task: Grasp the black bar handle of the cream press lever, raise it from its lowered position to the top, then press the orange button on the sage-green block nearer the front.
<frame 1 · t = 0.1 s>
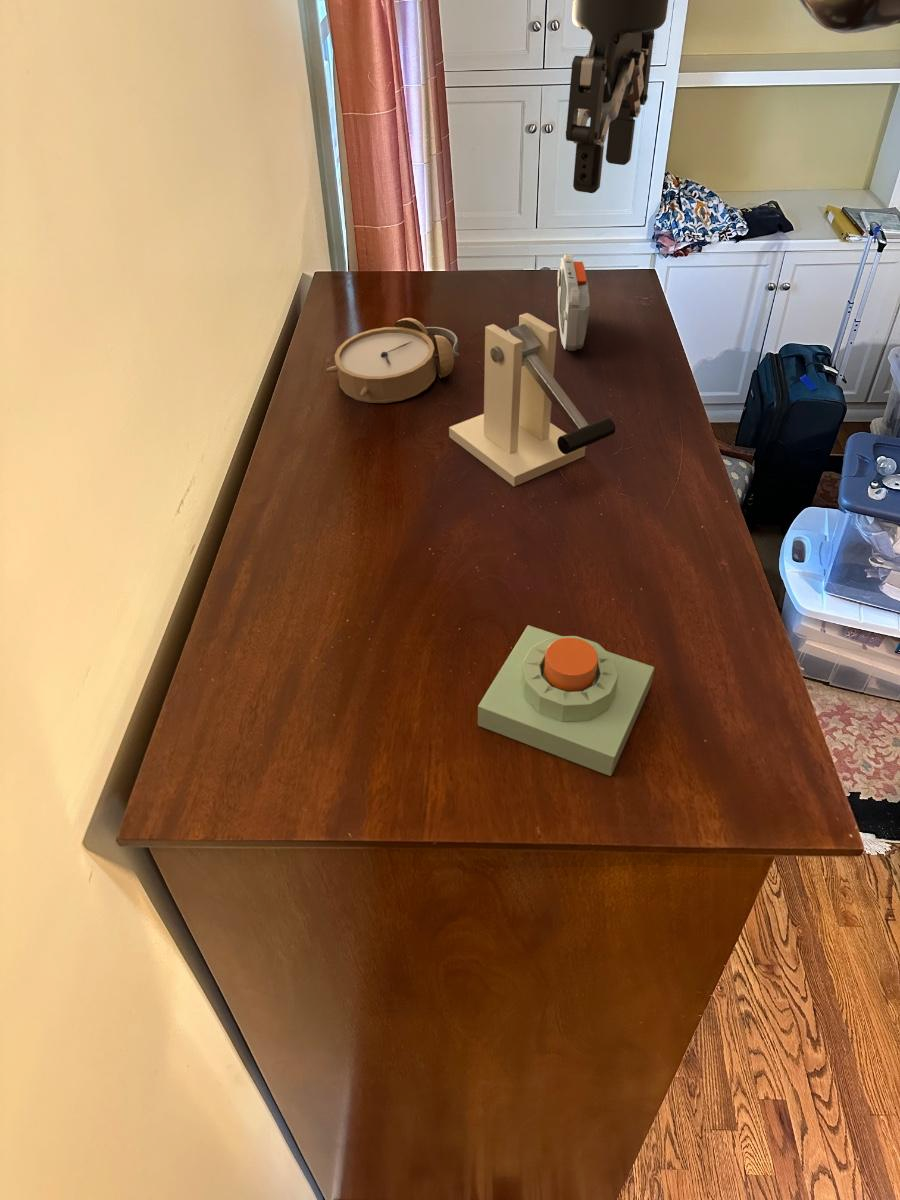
hand: (602, 176, 78), 23 cm above the dresser top, tool pointing down, fingers open, 8 cm apart
alarm clock: (400, 376, 99), on the dresser top
bracket: (515, 446, 88), on the dresser top
button: (570, 664, 60), point 4 cm above the dresser top, slide at 0.1 cm
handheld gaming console: (569, 335, 106), on the dresser top
lever: (551, 387, 79), point 9 cm above the dresser top, hinge at -25.0°
button block: (565, 706, 63), on the dresser top
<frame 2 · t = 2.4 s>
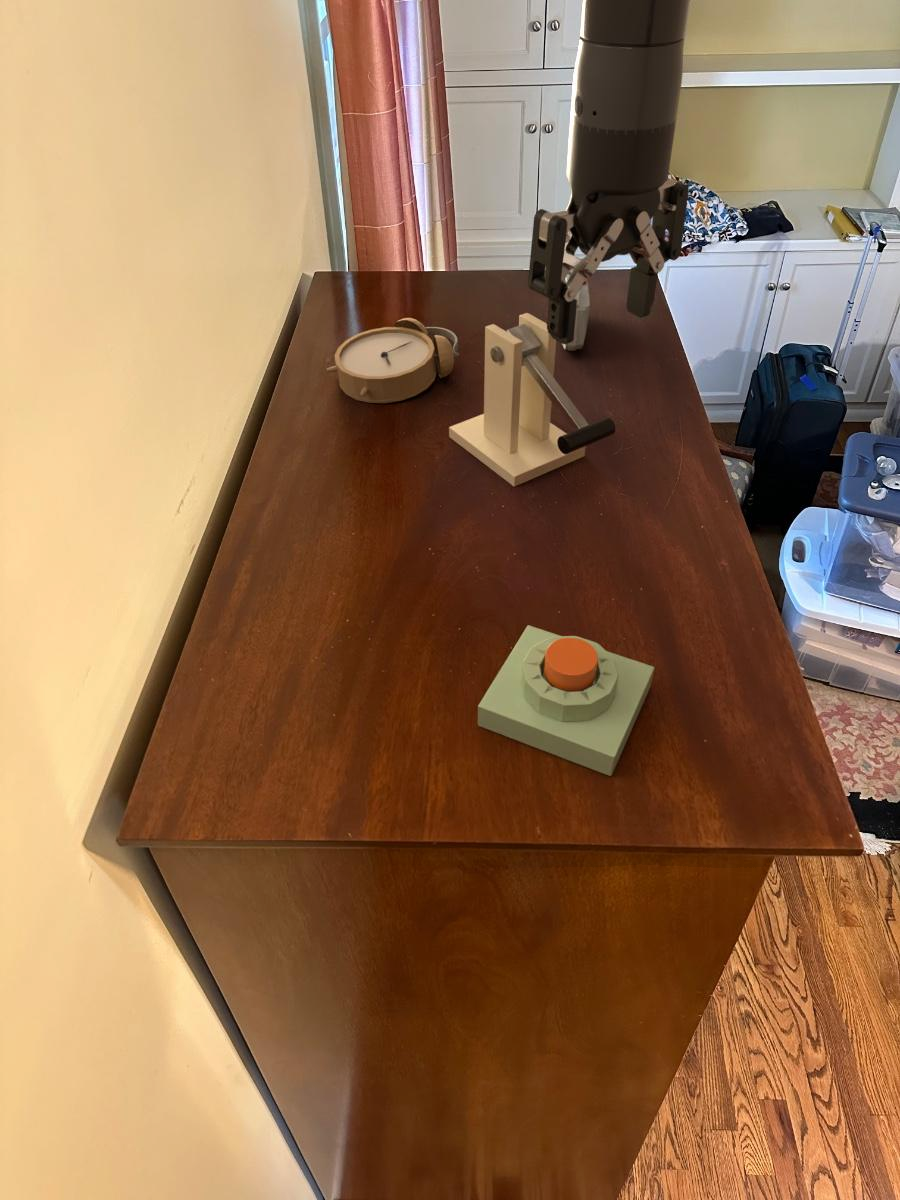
hand: (600, 326, 72), 16 cm above the dresser top, tool pointing down, fingers open, 8 cm apart
nothing on the dresser top moved.
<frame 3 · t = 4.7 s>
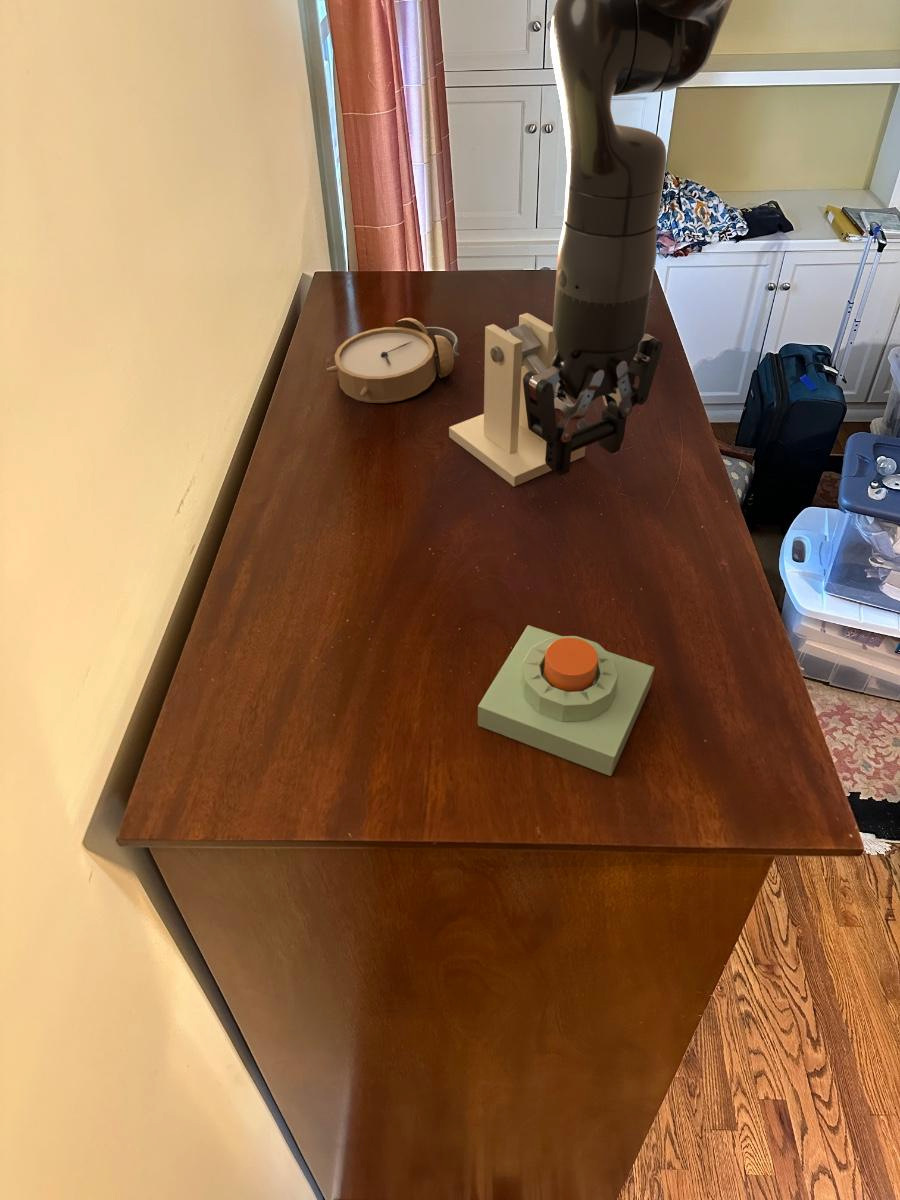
hand: (584, 458, 79), 4 cm above the dresser top, tool pointing down, fingers closed on lever, 5 cm apart
lever: (551, 387, 79), point 9 cm above the dresser top, hinge at -25.1°, touching gripper
everything else where it was.
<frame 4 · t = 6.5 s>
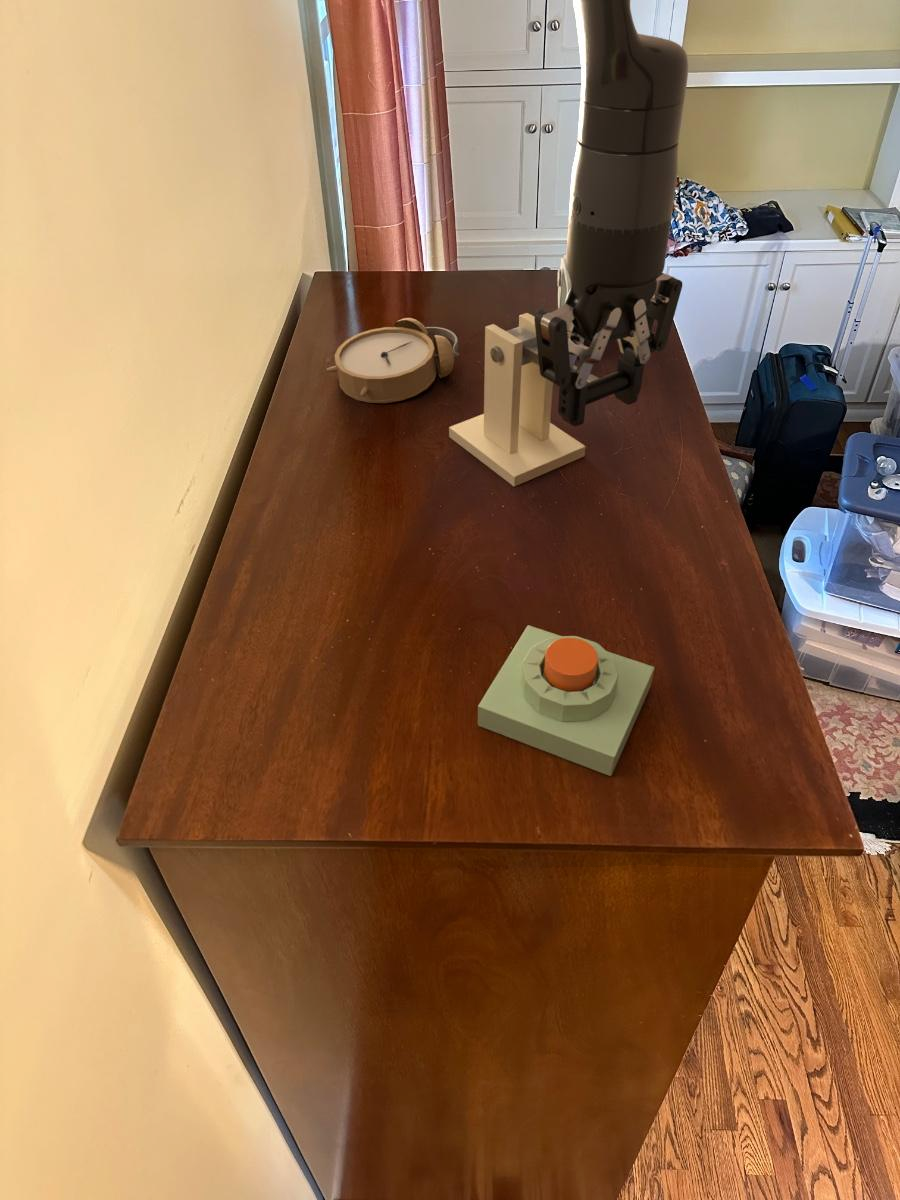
hand: (599, 410, 75), 10 cm above the dresser top, tool pointing down, fingers closed on lever, 5 cm apart
lever: (556, 365, 77), point 11 cm above the dresser top, hinge at 2.8°, touching gripper
everything else where it was.
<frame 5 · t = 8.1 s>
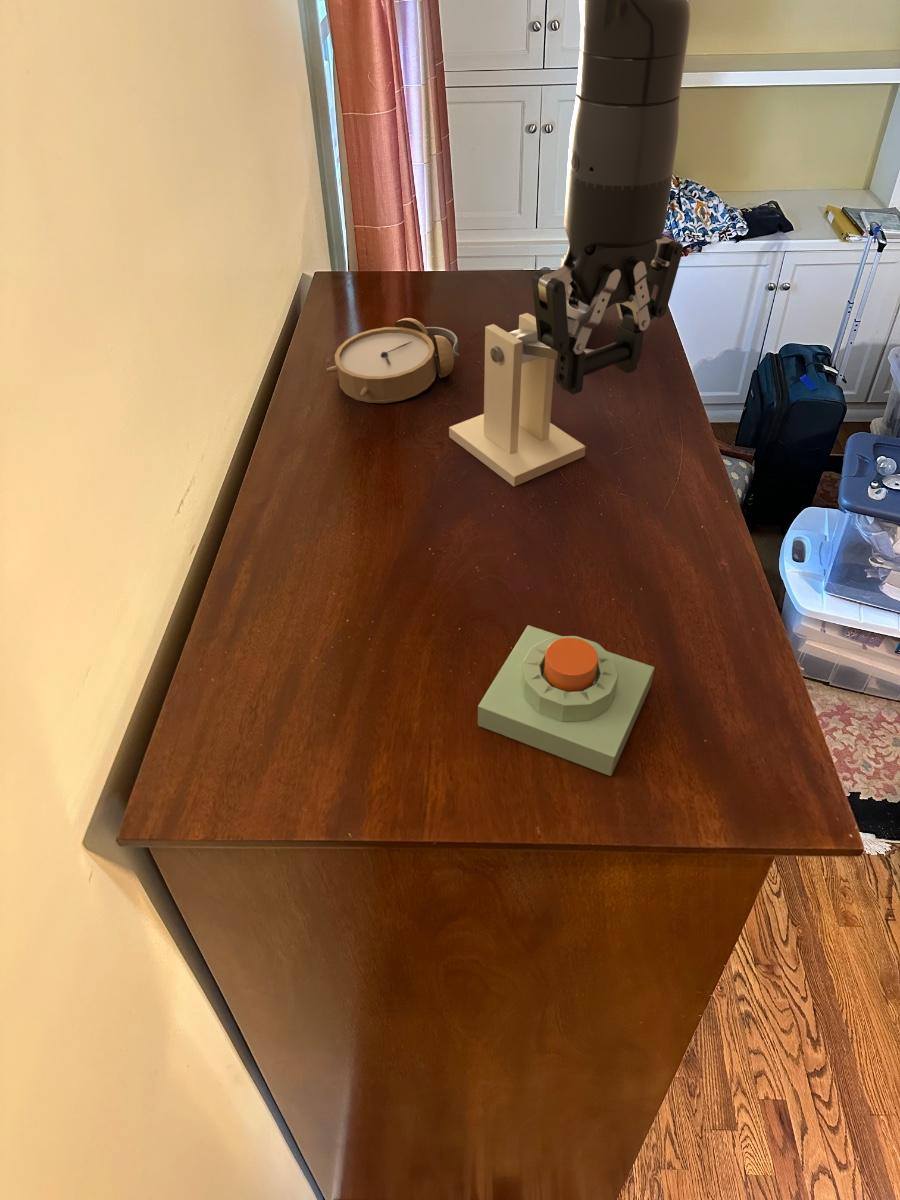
hand: (597, 378, 73), 12 cm above the dresser top, tool pointing down, fingers closed on lever, 5 cm apart
lever: (555, 351, 76), point 12 cm above the dresser top, hinge at 16.3°, touching gripper
everything else where it was.
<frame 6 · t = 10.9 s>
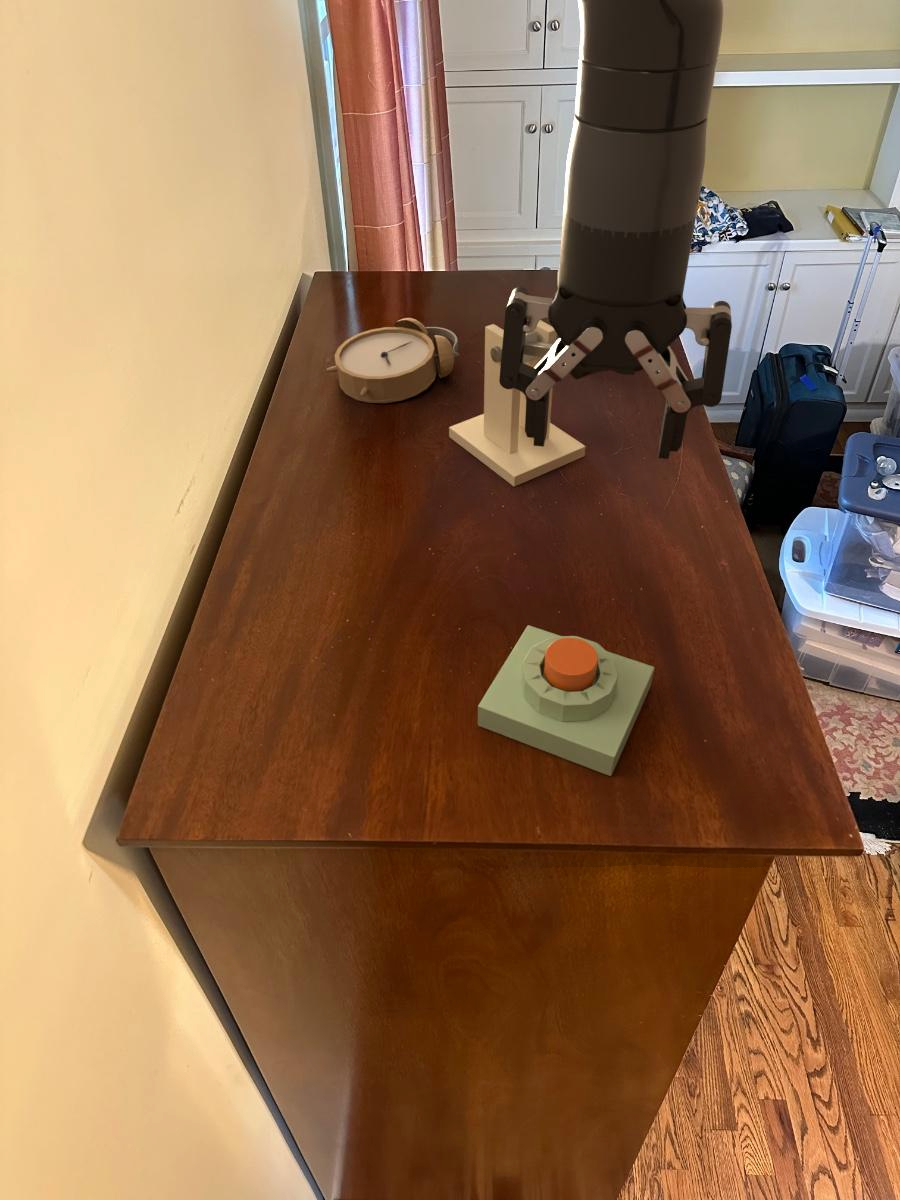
hand: (601, 446, 60), 15 cm above the dresser top, tool pointing down, fingers open, 8 cm apart
lever: (555, 352, 76), point 12 cm above the dresser top, hinge at 15.9°
everything else where it was.
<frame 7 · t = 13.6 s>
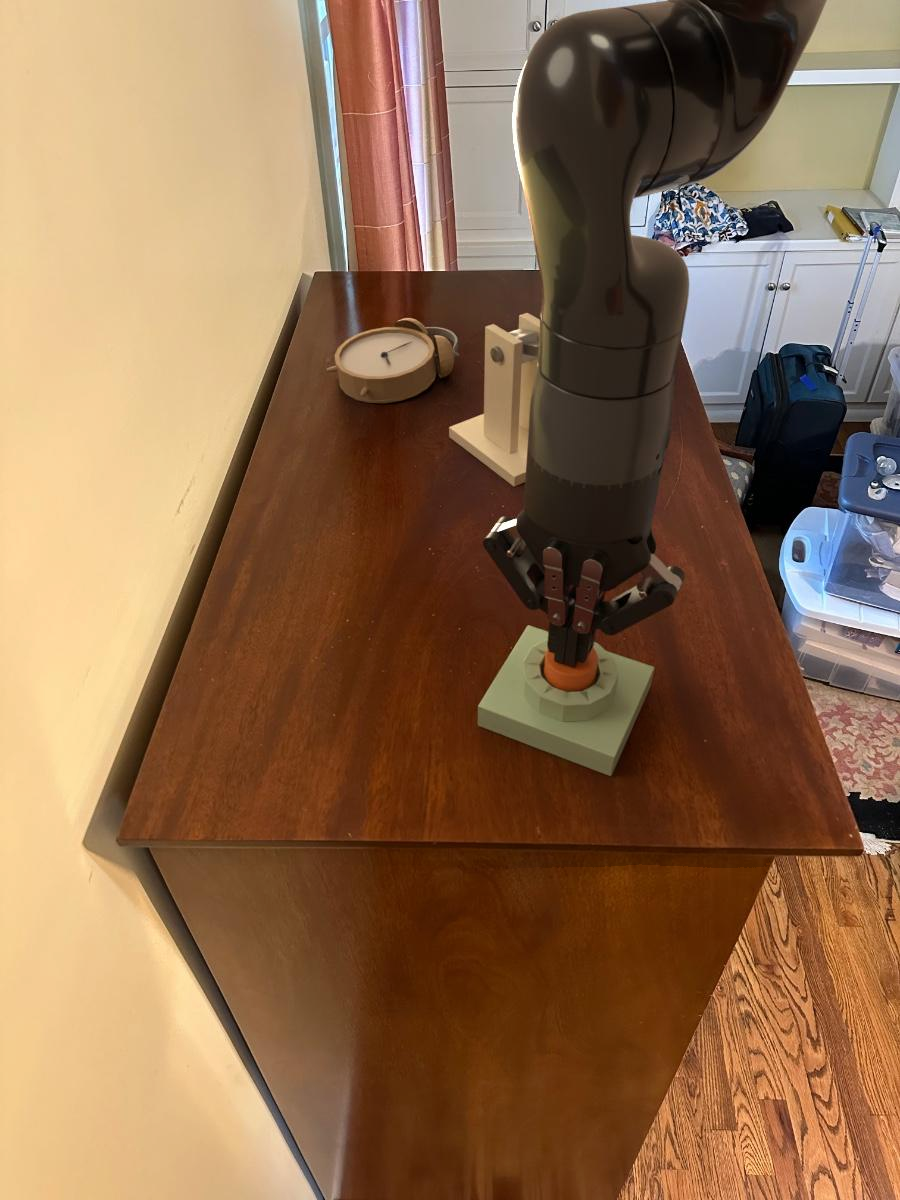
hand: (569, 656, 59), 5 cm above the dresser top, tool pointing down, fingers closed
button: (570, 664, 60), point 4 cm above the dresser top, slide at 0.0 cm, touching gripper
everything else where it was.
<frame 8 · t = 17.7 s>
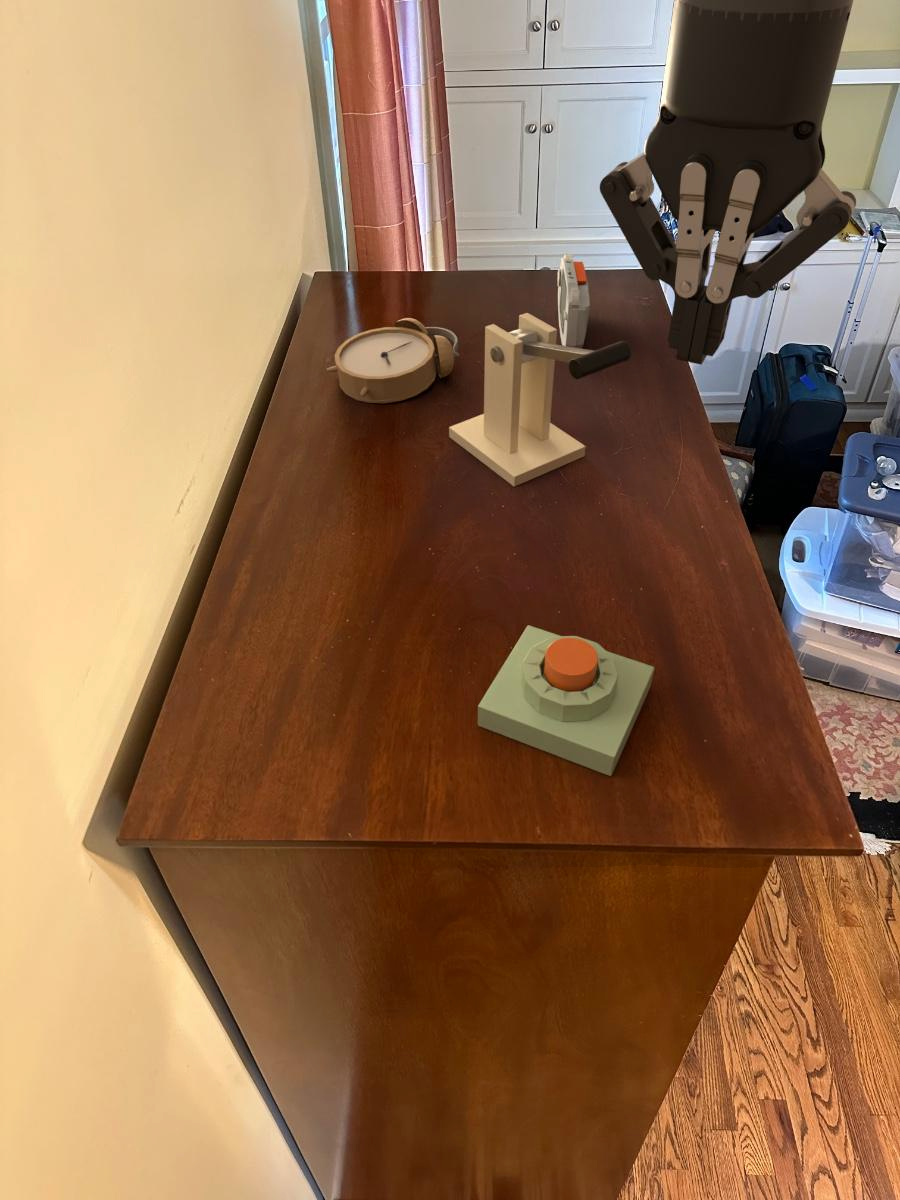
hand: (693, 356, 49), 25 cm above the dresser top, tool pointing down, fingers closed
button: (570, 664, 60), point 4 cm above the dresser top, slide at 0.1 cm
everything else where it was.
at the end: lever at +16° (first picture: -25°); button pushed in 1.1 cm at the most during the clip, back to where it started at the end; button slide at 0.1 cm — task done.
